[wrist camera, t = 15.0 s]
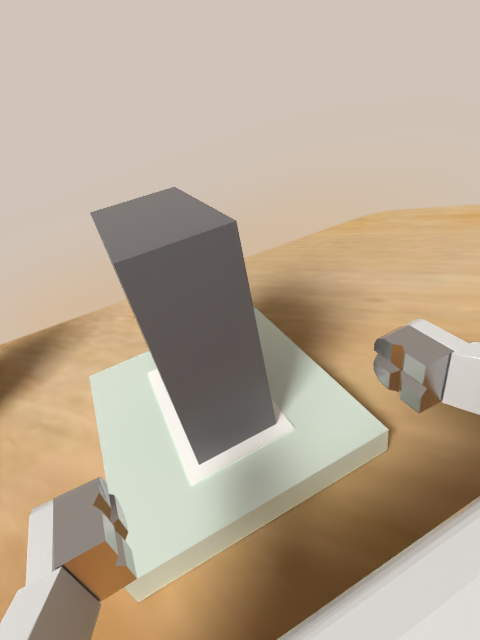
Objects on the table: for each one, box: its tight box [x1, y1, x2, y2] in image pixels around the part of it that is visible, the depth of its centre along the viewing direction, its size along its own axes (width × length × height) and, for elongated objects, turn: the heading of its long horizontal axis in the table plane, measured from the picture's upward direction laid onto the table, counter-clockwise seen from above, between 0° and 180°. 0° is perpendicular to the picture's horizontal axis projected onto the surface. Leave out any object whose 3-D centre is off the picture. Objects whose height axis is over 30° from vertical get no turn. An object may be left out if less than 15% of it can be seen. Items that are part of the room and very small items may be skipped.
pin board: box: [89, 307, 389, 602], centre depth 19 cm, size 12×13×4 cm
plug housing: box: [91, 187, 276, 465], centre depth 16 cm, size 4×7×10 cm, turn 26°
